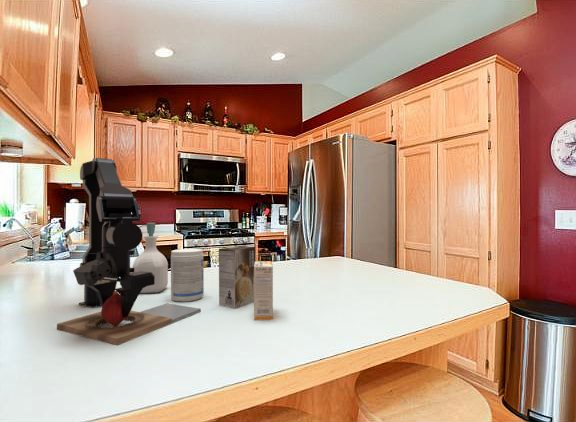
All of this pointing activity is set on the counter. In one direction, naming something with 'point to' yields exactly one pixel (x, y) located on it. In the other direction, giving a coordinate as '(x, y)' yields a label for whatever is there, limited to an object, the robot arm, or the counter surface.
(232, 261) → the coffee box
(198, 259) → the supplement tub
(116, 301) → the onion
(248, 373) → the counter surface
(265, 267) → the supplement box
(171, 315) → the plate
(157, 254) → the soap bottle
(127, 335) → the walnut bore board
